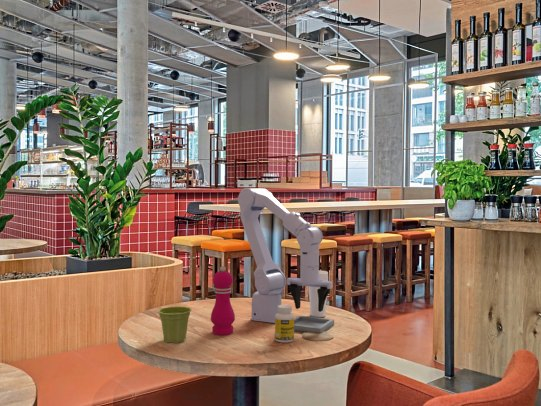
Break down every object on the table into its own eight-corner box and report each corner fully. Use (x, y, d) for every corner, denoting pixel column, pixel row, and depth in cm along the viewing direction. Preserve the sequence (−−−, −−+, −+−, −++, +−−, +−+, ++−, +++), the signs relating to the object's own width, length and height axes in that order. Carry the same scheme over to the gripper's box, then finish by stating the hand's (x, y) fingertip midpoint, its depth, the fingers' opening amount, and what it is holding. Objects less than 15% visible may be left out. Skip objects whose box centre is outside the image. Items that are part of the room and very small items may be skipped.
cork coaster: (297, 338, 152) (297, 336, 152) (309, 330, 160) (309, 329, 160) (326, 342, 148) (327, 341, 148) (337, 334, 156) (337, 333, 156)
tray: (283, 329, 162) (283, 323, 162) (299, 320, 172) (299, 315, 172) (320, 334, 156) (320, 328, 156) (334, 325, 167) (334, 319, 167)
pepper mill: (224, 327, 164) (224, 263, 163) (239, 332, 158) (239, 266, 158) (205, 332, 158) (205, 265, 158) (221, 337, 153) (221, 268, 153)
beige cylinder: (327, 318, 175) (327, 273, 175) (306, 317, 176) (306, 273, 176) (328, 314, 182) (329, 270, 181) (309, 313, 183) (309, 269, 183)
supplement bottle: (279, 344, 147) (279, 309, 147) (271, 338, 152) (271, 305, 152) (297, 341, 149) (297, 307, 149) (288, 336, 154) (289, 303, 154)
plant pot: (152, 339, 151) (152, 309, 151) (182, 333, 157) (182, 304, 157) (166, 347, 144) (166, 315, 144) (197, 341, 149) (197, 310, 149)
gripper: (282, 266, 163) (282, 309, 164) (327, 269, 157) (326, 315, 157) (292, 263, 170) (291, 305, 170) (335, 266, 163) (334, 310, 164)
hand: (309, 309), depth 164 cm, fingers open, 7 cm apart
